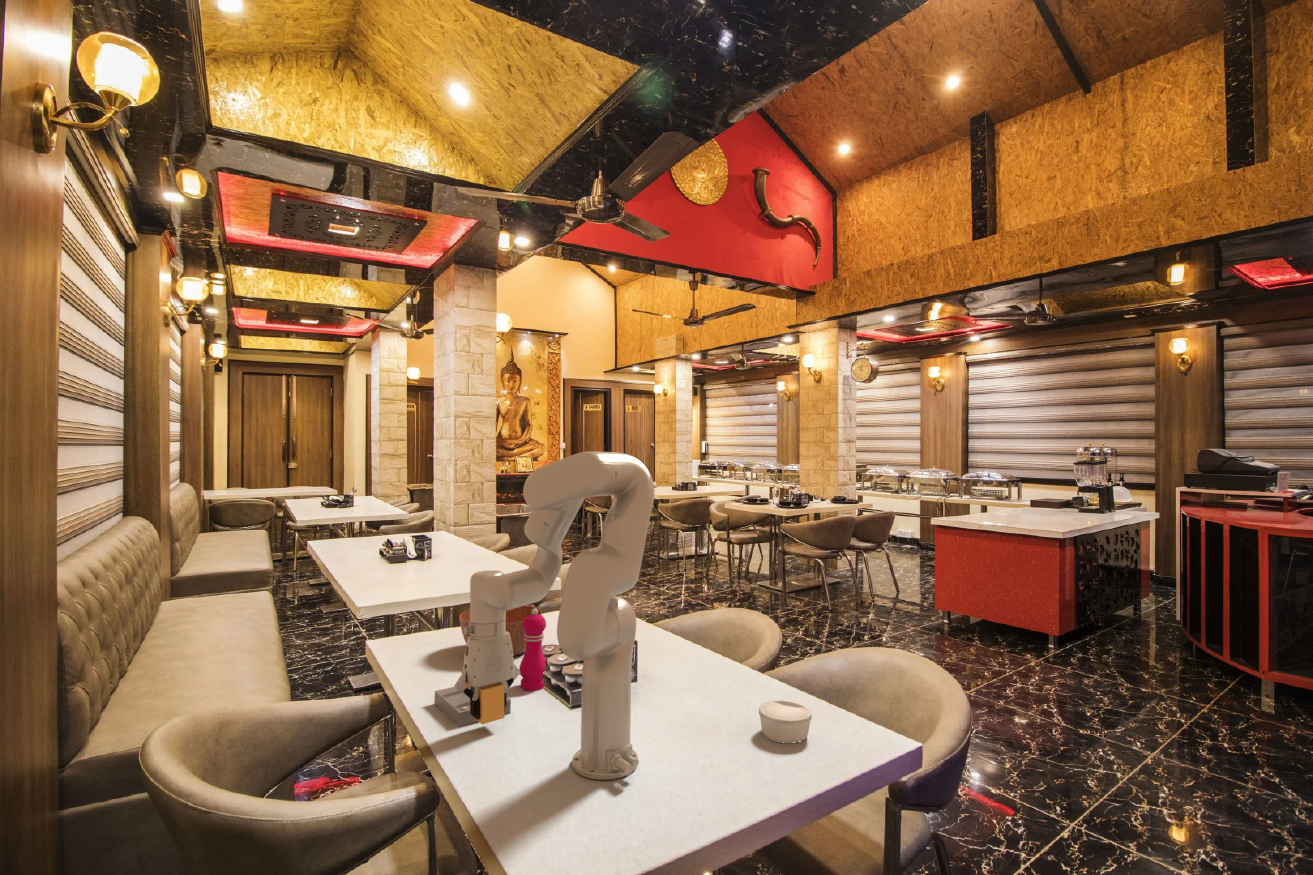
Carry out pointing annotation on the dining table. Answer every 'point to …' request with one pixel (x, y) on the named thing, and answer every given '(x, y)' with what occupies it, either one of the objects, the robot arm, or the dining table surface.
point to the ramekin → (785, 721)
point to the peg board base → (458, 705)
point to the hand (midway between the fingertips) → (488, 713)
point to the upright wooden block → (491, 703)
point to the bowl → (507, 626)
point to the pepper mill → (533, 652)
